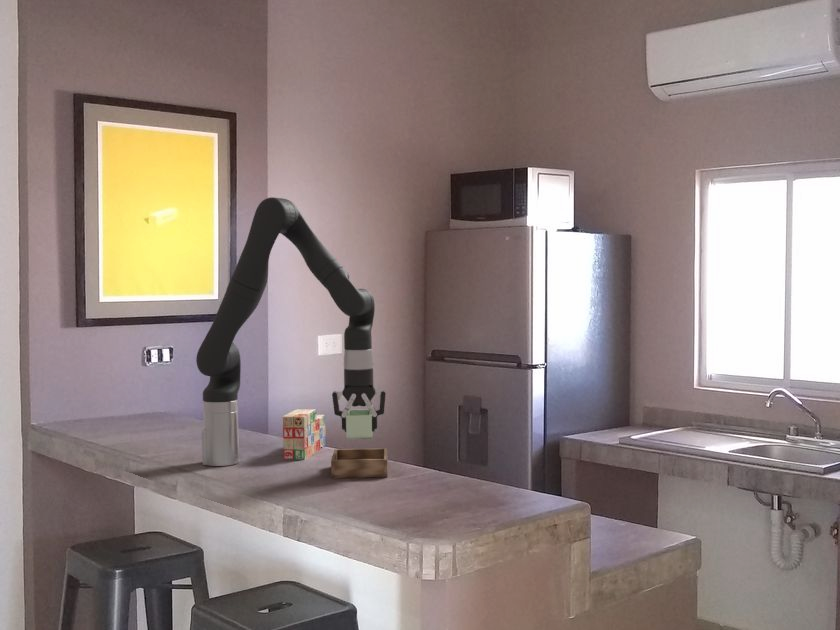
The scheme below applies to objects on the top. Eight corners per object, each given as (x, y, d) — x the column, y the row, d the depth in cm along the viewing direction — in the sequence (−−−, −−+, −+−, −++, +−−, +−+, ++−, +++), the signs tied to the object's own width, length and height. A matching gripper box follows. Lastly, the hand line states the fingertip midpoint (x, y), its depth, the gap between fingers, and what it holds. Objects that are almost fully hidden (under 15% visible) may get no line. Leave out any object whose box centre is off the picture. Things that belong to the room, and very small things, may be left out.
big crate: (331, 478, 238) (331, 460, 237) (334, 466, 252) (334, 449, 252) (387, 477, 238) (387, 459, 238) (387, 465, 253) (387, 448, 252)
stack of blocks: (305, 445, 283) (305, 404, 282) (326, 445, 282) (325, 404, 281) (283, 460, 262) (282, 415, 261) (305, 460, 261) (304, 416, 260)
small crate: (346, 439, 239) (345, 415, 239) (348, 432, 249) (347, 409, 249) (371, 438, 240) (371, 415, 239) (372, 432, 250) (372, 409, 249)
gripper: (329, 368, 240) (330, 434, 240) (386, 367, 240) (387, 433, 241) (331, 365, 247) (332, 429, 248) (386, 364, 248) (387, 428, 248)
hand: (359, 431), depth 244 cm, fingers closed on small crate, 6 cm apart
